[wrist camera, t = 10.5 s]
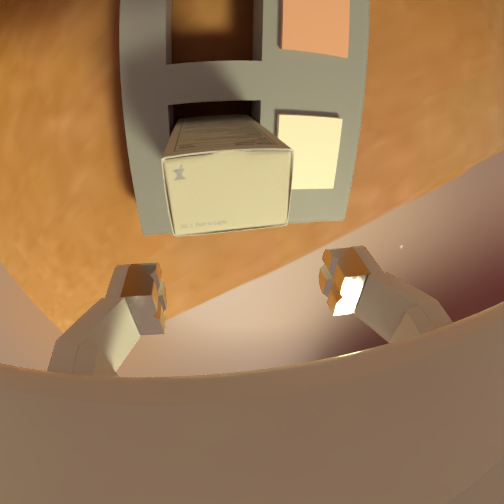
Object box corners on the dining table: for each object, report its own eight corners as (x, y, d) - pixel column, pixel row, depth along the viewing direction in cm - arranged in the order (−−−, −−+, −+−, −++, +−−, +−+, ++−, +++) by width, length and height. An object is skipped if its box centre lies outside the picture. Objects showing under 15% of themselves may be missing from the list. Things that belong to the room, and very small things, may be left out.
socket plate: (149, 212, 26) (142, 238, 22) (135, -33, 11) (123, -50, 8) (328, 200, 28) (346, 223, 25) (345, -24, 14) (371, -35, 10)
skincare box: (180, 164, 23) (167, 240, 14) (177, 115, 21) (155, 156, 11) (251, 159, 24) (289, 230, 15) (251, 111, 22) (296, 148, 12)
